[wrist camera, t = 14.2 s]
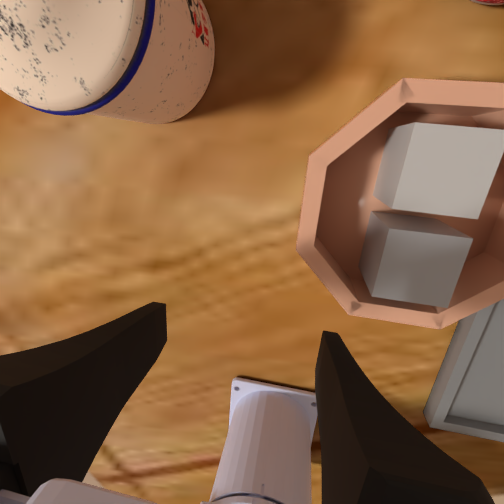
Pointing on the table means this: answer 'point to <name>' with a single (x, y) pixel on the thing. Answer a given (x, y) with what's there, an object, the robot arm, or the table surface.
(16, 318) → the table surface
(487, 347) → the tray
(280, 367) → the table surface
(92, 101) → the teacup with lid
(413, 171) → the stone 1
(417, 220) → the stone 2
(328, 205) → the bowl
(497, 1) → the soda can
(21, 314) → the table surface
